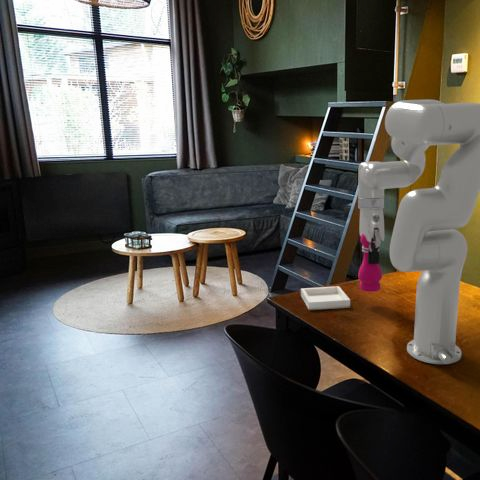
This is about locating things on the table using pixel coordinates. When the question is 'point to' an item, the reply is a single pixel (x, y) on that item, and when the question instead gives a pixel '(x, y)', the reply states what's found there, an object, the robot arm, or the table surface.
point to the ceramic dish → (325, 298)
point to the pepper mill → (369, 270)
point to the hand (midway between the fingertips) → (370, 260)
